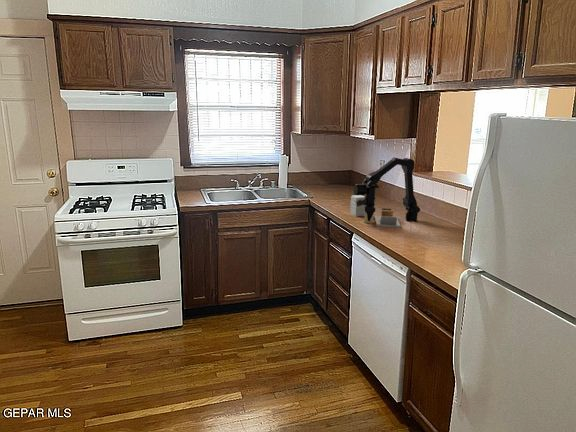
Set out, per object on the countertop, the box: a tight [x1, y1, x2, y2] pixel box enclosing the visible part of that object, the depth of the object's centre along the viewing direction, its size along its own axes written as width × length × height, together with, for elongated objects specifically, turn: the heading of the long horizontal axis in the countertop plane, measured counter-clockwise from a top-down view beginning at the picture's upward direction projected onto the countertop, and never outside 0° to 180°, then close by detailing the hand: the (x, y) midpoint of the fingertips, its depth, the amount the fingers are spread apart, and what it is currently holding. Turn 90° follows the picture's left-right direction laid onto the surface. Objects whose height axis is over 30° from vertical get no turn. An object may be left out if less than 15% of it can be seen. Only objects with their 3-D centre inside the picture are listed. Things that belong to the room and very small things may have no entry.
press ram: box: [380, 207, 394, 217], centre depth 280 cm, size 7×8×5 cm
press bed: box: [374, 215, 401, 228], centre depth 274 cm, size 14×22×6 cm, turn 172°
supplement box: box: [349, 194, 366, 217], centre depth 290 cm, size 7×7×13 cm
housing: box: [363, 212, 374, 224], centre depth 272 cm, size 5×5×7 cm
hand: (368, 219), depth 273 cm, fingers closed on housing, 5 cm apart
